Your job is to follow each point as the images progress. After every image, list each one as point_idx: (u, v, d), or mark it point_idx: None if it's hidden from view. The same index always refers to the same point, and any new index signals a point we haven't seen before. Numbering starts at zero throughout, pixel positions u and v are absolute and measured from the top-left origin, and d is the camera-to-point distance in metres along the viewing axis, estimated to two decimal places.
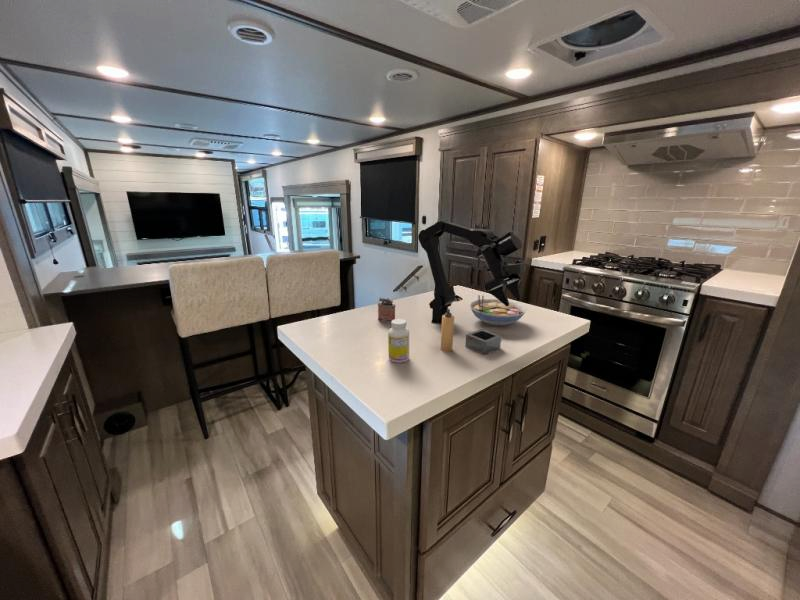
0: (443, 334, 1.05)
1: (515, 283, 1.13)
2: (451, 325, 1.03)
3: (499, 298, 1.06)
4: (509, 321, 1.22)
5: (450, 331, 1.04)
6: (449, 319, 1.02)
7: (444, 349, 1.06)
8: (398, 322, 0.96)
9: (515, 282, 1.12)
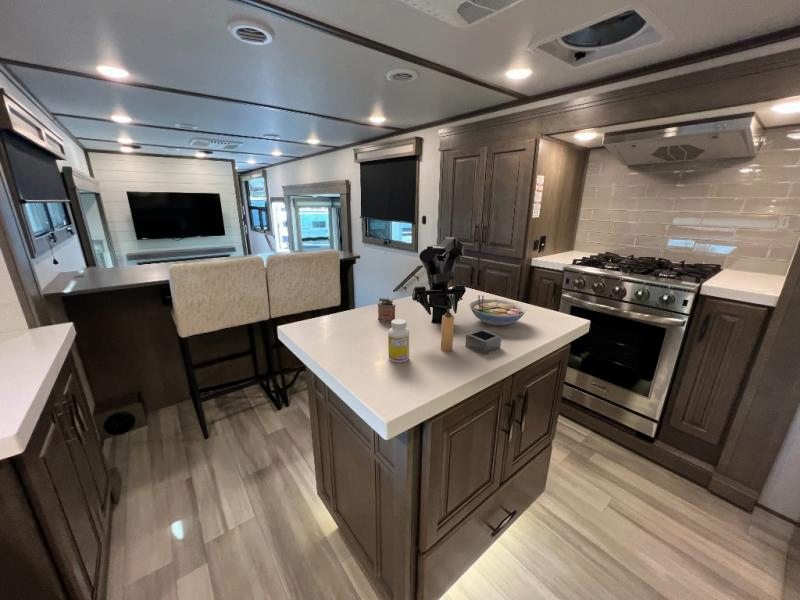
0: (443, 334, 1.05)
1: (454, 296, 1.11)
2: (451, 325, 1.03)
3: (424, 307, 1.10)
4: (509, 321, 1.22)
5: (450, 331, 1.04)
6: (449, 319, 1.02)
7: (444, 349, 1.06)
8: (398, 322, 0.96)
9: (454, 295, 1.12)
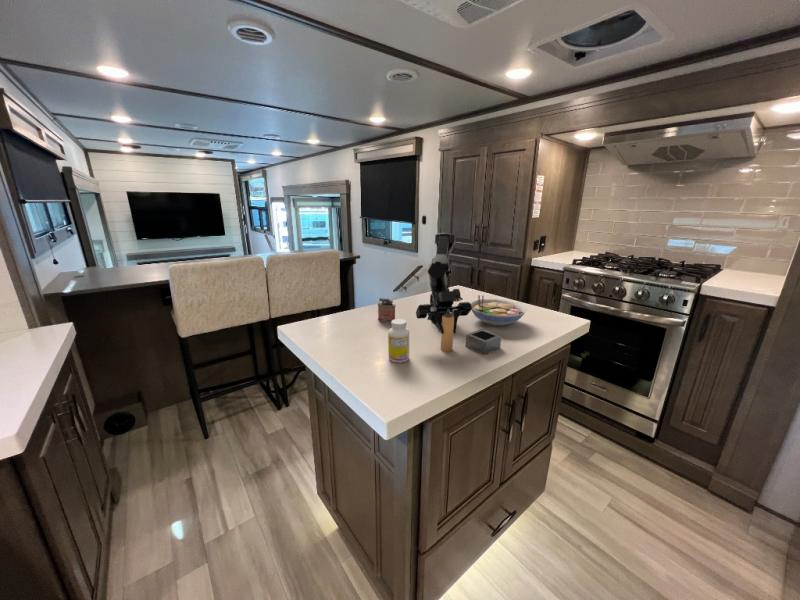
0: (443, 334, 1.05)
1: (453, 314, 1.07)
2: (451, 325, 1.03)
3: (436, 325, 1.06)
4: (509, 321, 1.22)
5: (450, 331, 1.04)
6: (449, 319, 1.02)
7: (444, 349, 1.06)
8: (398, 322, 0.96)
9: (453, 313, 1.07)
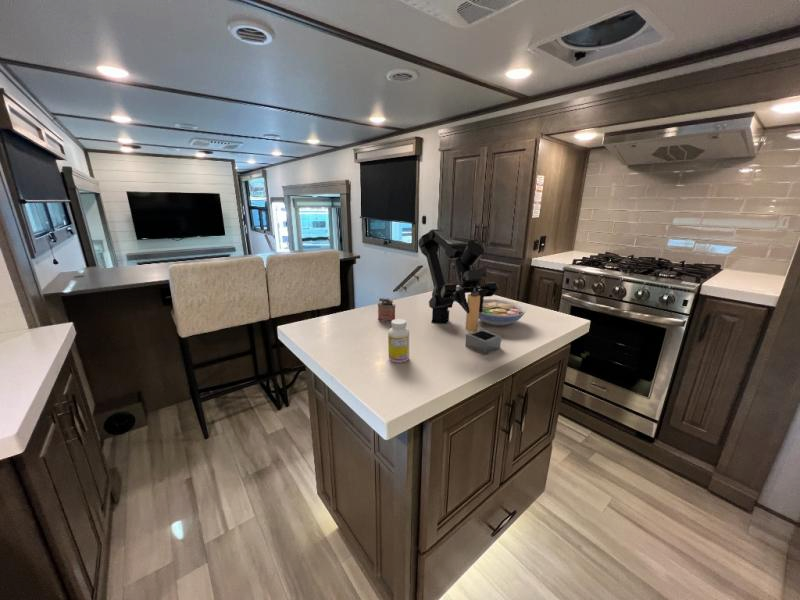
0: (469, 313, 1.04)
1: (478, 294, 1.06)
2: (477, 304, 1.02)
3: (461, 305, 1.05)
4: (509, 321, 1.22)
5: (476, 310, 1.03)
6: (475, 298, 1.01)
7: (469, 329, 1.05)
8: (398, 322, 0.96)
9: (479, 293, 1.06)
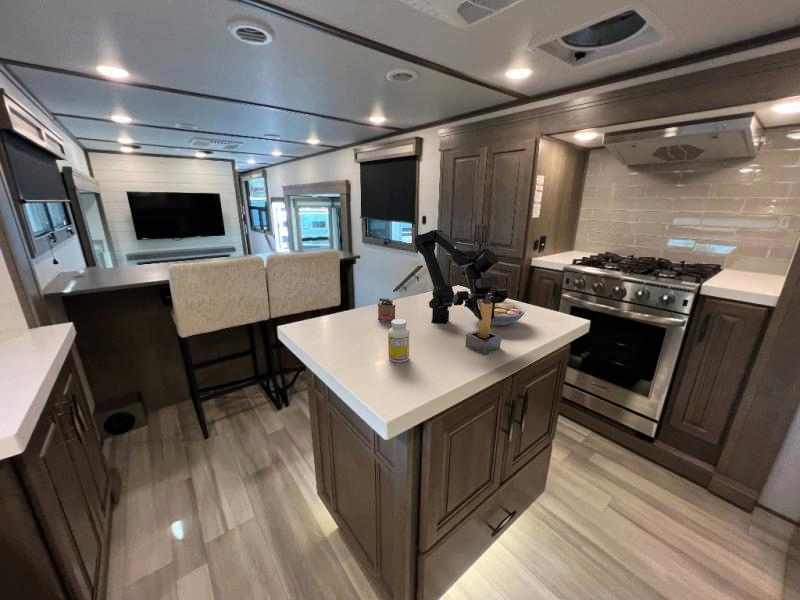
0: (481, 320, 1.05)
1: (490, 301, 1.07)
2: (490, 311, 1.04)
3: (473, 312, 1.07)
4: (509, 321, 1.22)
5: (489, 317, 1.04)
6: (488, 305, 1.03)
7: (482, 335, 1.06)
8: (398, 322, 0.96)
9: (490, 300, 1.07)
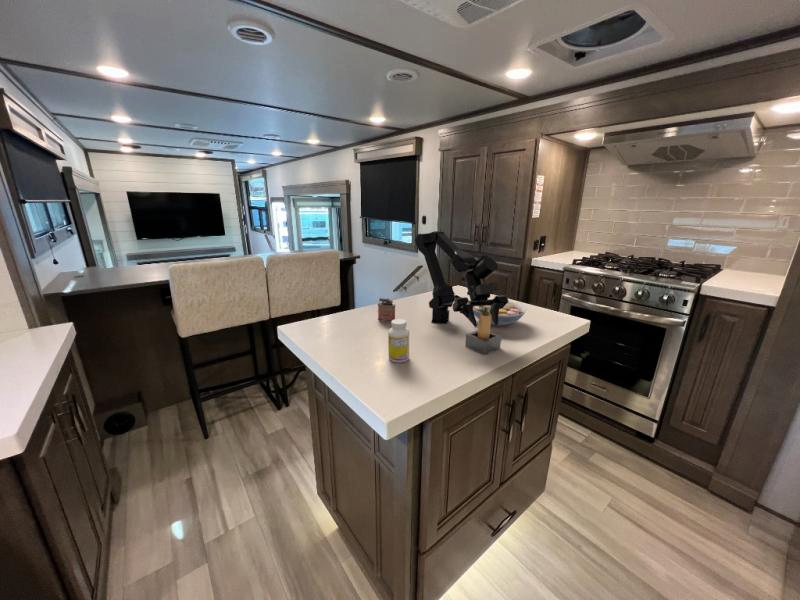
0: (480, 332, 1.06)
1: (494, 307, 1.08)
2: (488, 323, 1.05)
3: (469, 318, 1.07)
4: (509, 321, 1.22)
5: (488, 329, 1.05)
6: (487, 317, 1.04)
7: None
8: (398, 322, 0.96)
9: (494, 306, 1.08)
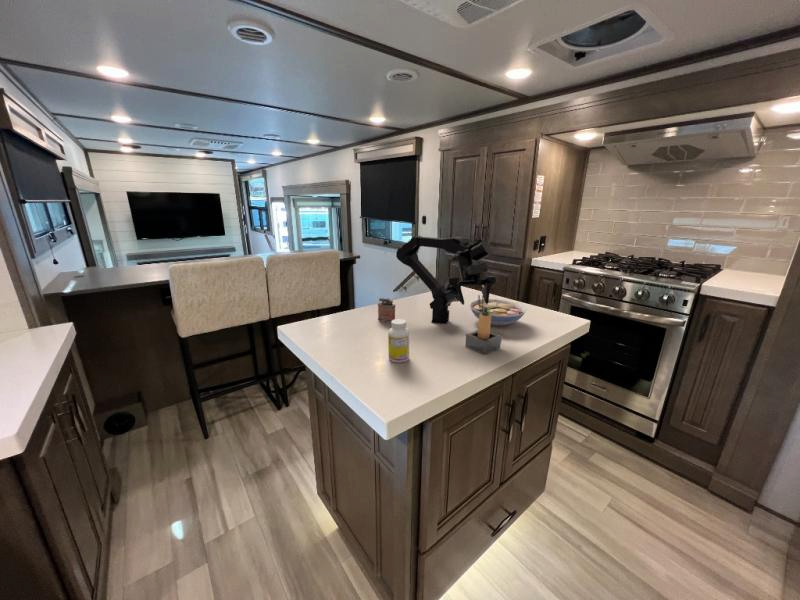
0: (480, 332, 1.06)
1: (485, 287, 1.15)
2: (488, 323, 1.05)
3: (457, 297, 1.14)
4: (509, 321, 1.22)
5: (488, 329, 1.05)
6: (487, 317, 1.04)
7: None
8: (398, 322, 0.96)
9: (485, 286, 1.15)
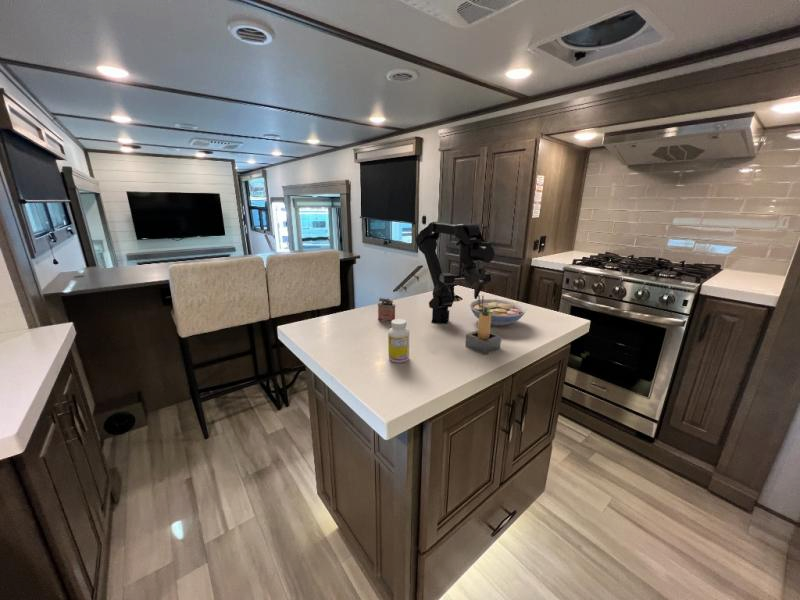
0: (480, 332, 1.06)
1: (478, 284, 1.18)
2: (488, 323, 1.05)
3: (449, 290, 1.18)
4: (509, 321, 1.22)
5: (488, 329, 1.05)
6: (487, 317, 1.04)
7: None
8: (398, 322, 0.96)
9: (479, 283, 1.17)
